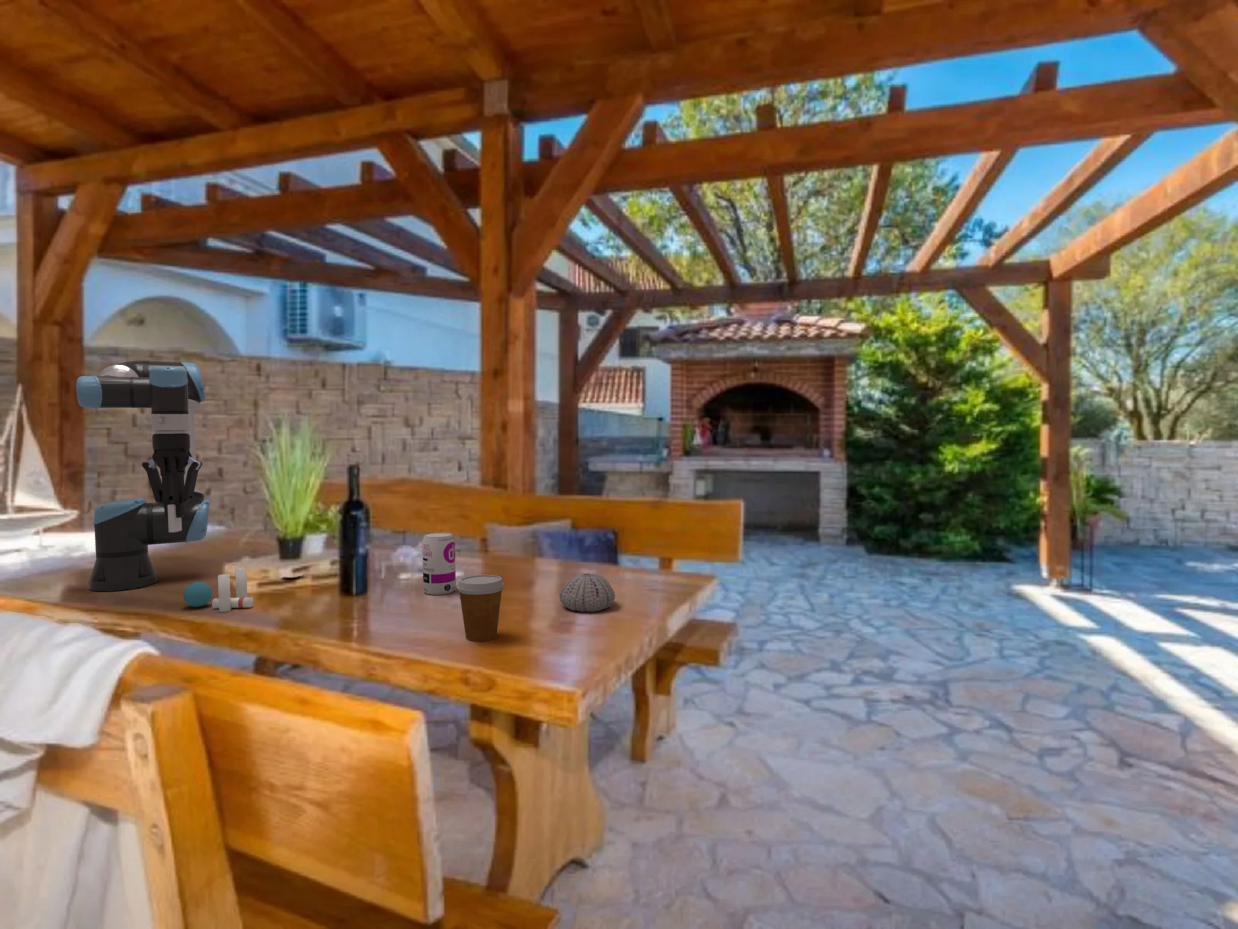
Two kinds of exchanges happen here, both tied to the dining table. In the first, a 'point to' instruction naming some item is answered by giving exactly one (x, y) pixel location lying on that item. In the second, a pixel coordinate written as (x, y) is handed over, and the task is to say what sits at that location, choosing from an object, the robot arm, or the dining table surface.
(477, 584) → the disposable coffee cup
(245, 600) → the front pin
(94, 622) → the dining table surface
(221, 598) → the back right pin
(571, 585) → the sea urchin shell
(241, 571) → the back left pin
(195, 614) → the dining table surface
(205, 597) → the ball
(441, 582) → the supplement can
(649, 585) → the dining table surface
